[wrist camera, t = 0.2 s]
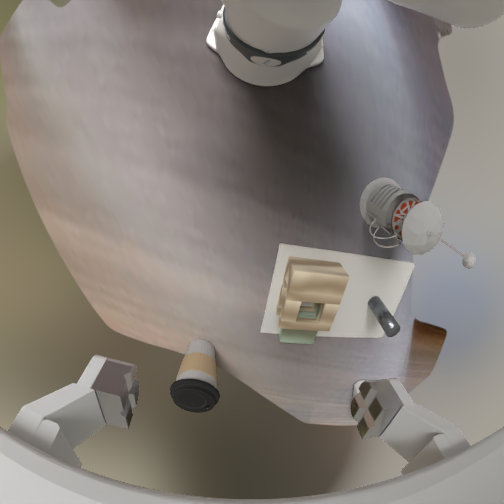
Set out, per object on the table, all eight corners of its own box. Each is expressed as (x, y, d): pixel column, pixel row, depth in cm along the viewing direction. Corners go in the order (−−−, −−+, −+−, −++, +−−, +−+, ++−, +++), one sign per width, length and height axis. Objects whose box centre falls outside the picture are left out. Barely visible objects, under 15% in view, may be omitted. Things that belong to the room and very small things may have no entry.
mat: (279, 243, 49) (280, 244, 48) (414, 262, 52) (415, 263, 51) (260, 331, 57) (260, 332, 56) (381, 336, 60) (382, 337, 59)
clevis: (288, 256, 49) (294, 270, 44) (339, 262, 50) (349, 276, 45) (270, 329, 56) (273, 347, 51) (315, 332, 57) (321, 350, 52)
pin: (370, 295, 54) (390, 324, 45) (382, 296, 54) (402, 324, 45) (365, 307, 55) (383, 337, 46) (377, 307, 55) (396, 336, 46)
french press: (410, 211, 47) (499, 271, 24) (364, 242, 49) (437, 323, 27) (392, 167, 44) (493, 206, 21) (342, 199, 46) (423, 263, 23)
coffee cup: (220, 364, 61) (217, 416, 47) (180, 359, 60) (170, 410, 46) (224, 335, 57) (220, 390, 43) (180, 329, 56) (166, 383, 42)
